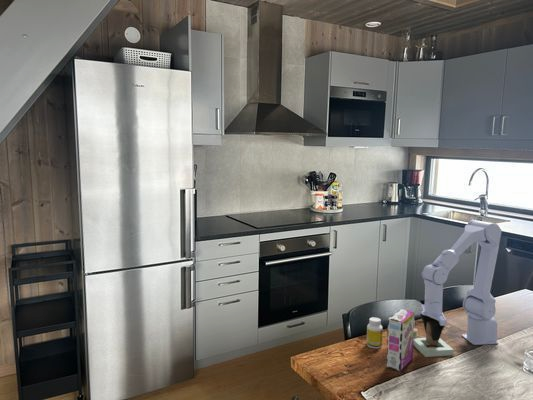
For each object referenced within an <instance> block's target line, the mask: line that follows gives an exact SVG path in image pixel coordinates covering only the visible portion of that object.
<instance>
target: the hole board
mask: <svg viewBox="0 0 533 400" xmlns="http://www.w3.org/2000/svg"><path fill="white" fill-rule="evenodd" d="M427 346H430V345H429V344H427V343H426V337H418V338H413V347H415V348H416V349H417V350H418V351H419V352H420V353H421V354H422V356H424V357H425V358H427V357H429V358H430V357H445V356H446V357H447V356H449V357H450V356H454V351H455V349H453V348H452V347H451V346H450V345H449V344H448V343H447V342H446V341H444V340H443V339H442V338H441V337H440V339H439V341H438V345H436V346H437V347H427Z"/></svg>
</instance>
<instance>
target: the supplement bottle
mask: <svg viewBox="0 0 533 400" xmlns="http://www.w3.org/2000/svg"><path fill="white" fill-rule="evenodd" d="M368 322H369V323H368V324H367V326H366V345H367V347H368V348H371V349H380V348H382V347H383V325H382V320H381V318H379V317H373V316H372V317H370V318H369V321H368Z"/></svg>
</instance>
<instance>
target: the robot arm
mask: <svg viewBox="0 0 533 400" xmlns="http://www.w3.org/2000/svg"><path fill="white" fill-rule="evenodd" d="M502 232H503V231H502V229H501V227H500V226H499V224H498V223H495V222H487V221H483V220H482V221H480V220H477V219H471V220H470V221H469V222H468V223H467V224H466V225H465V226H464V232H463V233H462V234H461V235H460V237H459V238H458V239H457V241H456V242H455V243H454V244H453V246H451V248H450V249H444V250H443V251H441V252H440V253H441V254H440V255H438V256H437V258H436V259H435V260H434V261H433V262H432V263H430V264H427V265H425V266H424V267H423V268H422V272H421V277H422V278H423V284H424V304H421V305H420V310H421V312H420V314H419V315H420V319H421V320H422V323H423V328H424V331H425V332H424V333H426V324H427V322H429V324H430V327H431V334H432V340H433V341H439V339H440V338H441V335H442V332H443V330H444V328H445V327H446V326H447V324H448V321H447V319H446V317H445V315H444V313H443V300H444V299H443V296H444V295H443V293H444V284H445V283H446V282H447V280H448V276H449V274H450V271H451V270H452V269H453V268H454V267H455V266H456V265H457V264H458V263H459V261H460V255H462V254H463V253H464V252H465V251H466V250H467V249H468V248H469V247H471V246H472V244H474V243H478V245H479V246H480V253H479V258H478V263H477V267H476V272H475V277H474V278H475V279H474V283H473V288H471V289H470V290H468V291H467V292H466V295H465V298H463V301H462V307H463V310H464V311H465V314H466V315H467V317H466V322H467V323H466V333H462V334H461V336H462V337H463V338H464V339H465V340H466V341H468V342H469V343H471V344H472V345H473V346H474V345H475V346H481V345H482V346H483V345H495V344H499V342H498V321H497V320H496V318H495V317H494V316H495V315H496V312H497V311H496V298H495V297H494V296H493V295H492V294H491V290H492V289H491V288H492V285H493V284H492V282H493V278H494V273H495V268H496V264H497V258H498V254H499V250H500V248H499V247H500V242H501V237H502Z"/></svg>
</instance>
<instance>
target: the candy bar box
mask: <svg viewBox="0 0 533 400" xmlns="http://www.w3.org/2000/svg"><path fill="white" fill-rule="evenodd" d="M414 321H415V312H414V311H411V310H407V309H402V308H401V309H399V310H398V311H396V312H395V313H394V314H392V315H391V316H389V318H387V339H386V340H387V341H386V342H387V344H386V348H387V349H386V368H389V369H391V370H395V371H398V372H401V371H403V369H404V368H405V367H406V366H407V365H408V364H409V363H410V362H411V361H412V359H413V358H414V357H413V355H414V354H413V353H414V345H413V334H414Z"/></svg>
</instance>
